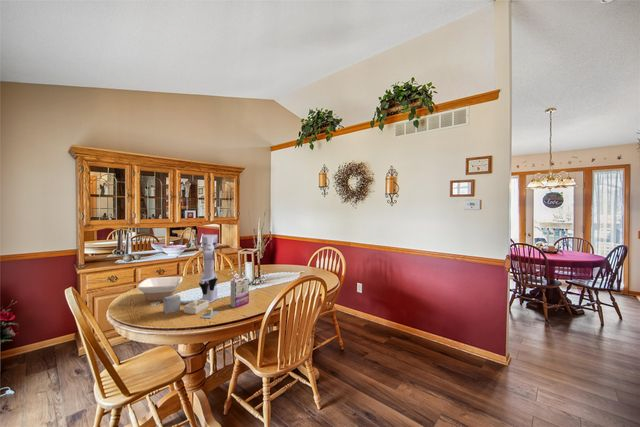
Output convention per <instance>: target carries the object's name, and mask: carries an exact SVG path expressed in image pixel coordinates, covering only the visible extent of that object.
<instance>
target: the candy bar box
mask: <svg viewBox="0 0 640 427" xmlns="http://www.w3.org/2000/svg"><path fill="white" fill-rule="evenodd" d="M249 289H250V278H249V277H246V276H244V277H240V278H237V279H236V278H235V279H234V280H231V281H230V307H231V308H234V309H237V308H239V307H242V306H244V305H247V304H249V302H250V299H249V298H250V294H249V293H250V290H249Z"/></svg>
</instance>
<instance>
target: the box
mask: <svg viewBox="0 0 640 427" xmlns="http://www.w3.org/2000/svg"><path fill="white" fill-rule="evenodd" d="M209 304H210V303H209V301H208V300H202V299H198V298H197V299H195V300H192V301H191V302H188V303H187V304H185V305H184V306H183V314H188V315H189V314H190V315H197V314H200V313H202V312H203V311H204V310H207V309H208V308H210V307H209Z"/></svg>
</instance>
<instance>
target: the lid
mask: <svg viewBox="0 0 640 427" xmlns="http://www.w3.org/2000/svg"><path fill="white" fill-rule="evenodd" d="M219 312H220V311H219V310H214V308H213V307H208V308H206V312H205V313H203V314H202V315H201V316H200V317H199V318H200V319H207V320H209V319H213V317H215V316H216V315H217V314H218V313H219Z"/></svg>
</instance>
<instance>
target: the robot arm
mask: <svg viewBox="0 0 640 427" xmlns="http://www.w3.org/2000/svg"><path fill="white" fill-rule="evenodd" d="M201 244H202V249H204V251H203V252H202V259H203V260H202V261H203V273H202V274H201V275H200V280H199V283H198V285H199V287H200V289H201V292H202V299H201V300H208V301H209V304H210V303H213V302H214V301H216V300H218V299H219V297H218V287H217V286H218V279H219V278H218V277H217V276H218V275H217V273H216V272H215V271H214V270H215V258H216V257H215V256H216V252H215V249H216V248H217V246H218V234H202V235H201Z"/></svg>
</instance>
